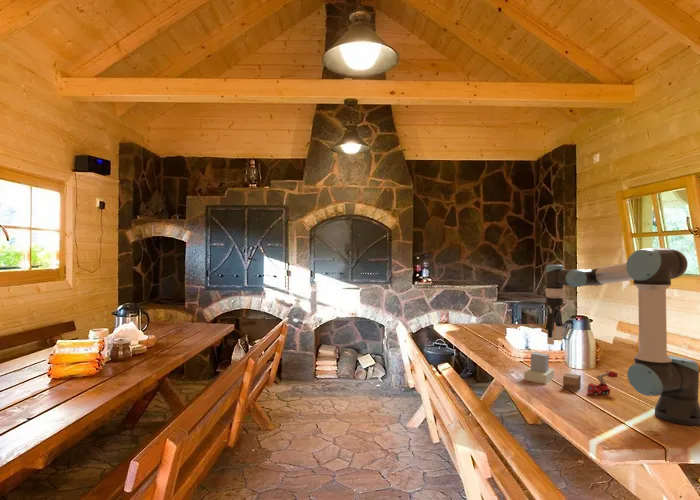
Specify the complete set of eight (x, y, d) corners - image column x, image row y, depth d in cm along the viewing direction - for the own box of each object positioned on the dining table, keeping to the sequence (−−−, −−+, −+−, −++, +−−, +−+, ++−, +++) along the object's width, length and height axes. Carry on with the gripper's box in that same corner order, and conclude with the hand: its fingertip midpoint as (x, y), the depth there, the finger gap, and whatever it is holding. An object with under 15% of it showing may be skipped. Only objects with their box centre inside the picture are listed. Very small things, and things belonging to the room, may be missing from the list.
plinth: (545, 384, 211) (546, 375, 211) (524, 379, 218) (524, 371, 218) (553, 377, 222) (554, 368, 222) (533, 373, 229) (533, 365, 229)
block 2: (577, 391, 201) (577, 378, 201) (563, 388, 205) (563, 375, 205) (580, 388, 206) (580, 375, 206) (566, 385, 210) (566, 372, 209)
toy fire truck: (586, 393, 198) (586, 371, 198) (611, 391, 202) (611, 369, 202) (592, 396, 195) (592, 374, 195) (617, 393, 199) (617, 371, 199)
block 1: (545, 372, 216) (546, 356, 216) (530, 370, 220) (530, 353, 220) (548, 370, 220) (548, 354, 219) (533, 367, 224) (533, 351, 224)
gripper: (552, 294, 225) (552, 337, 225) (538, 298, 205) (538, 345, 205) (569, 295, 220) (569, 338, 220) (556, 299, 201) (556, 347, 201)
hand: (554, 342), depth 213 cm, fingers open, 13 cm apart
